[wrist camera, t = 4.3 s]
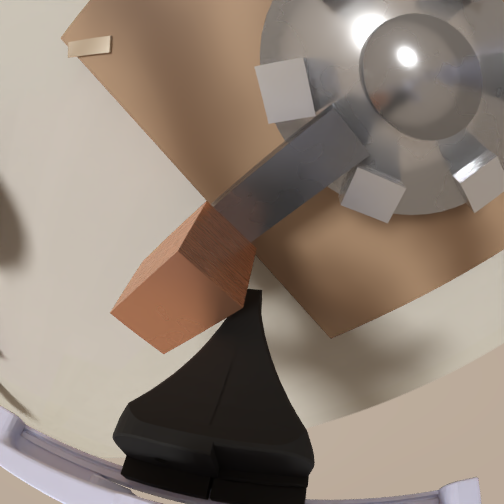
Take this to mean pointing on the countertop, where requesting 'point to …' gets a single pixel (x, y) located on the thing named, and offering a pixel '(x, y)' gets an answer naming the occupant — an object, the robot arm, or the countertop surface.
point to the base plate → (258, 147)
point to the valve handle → (340, 142)
